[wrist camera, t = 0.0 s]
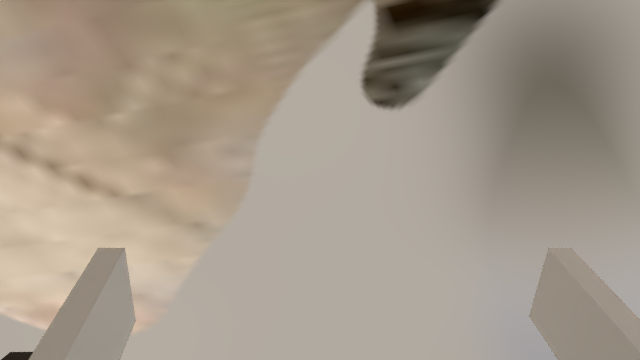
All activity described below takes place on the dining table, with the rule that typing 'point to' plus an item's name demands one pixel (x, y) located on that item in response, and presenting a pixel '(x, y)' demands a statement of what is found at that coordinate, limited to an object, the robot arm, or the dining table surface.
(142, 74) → the dining table surface
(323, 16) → the dining table surface
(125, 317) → the robot arm
